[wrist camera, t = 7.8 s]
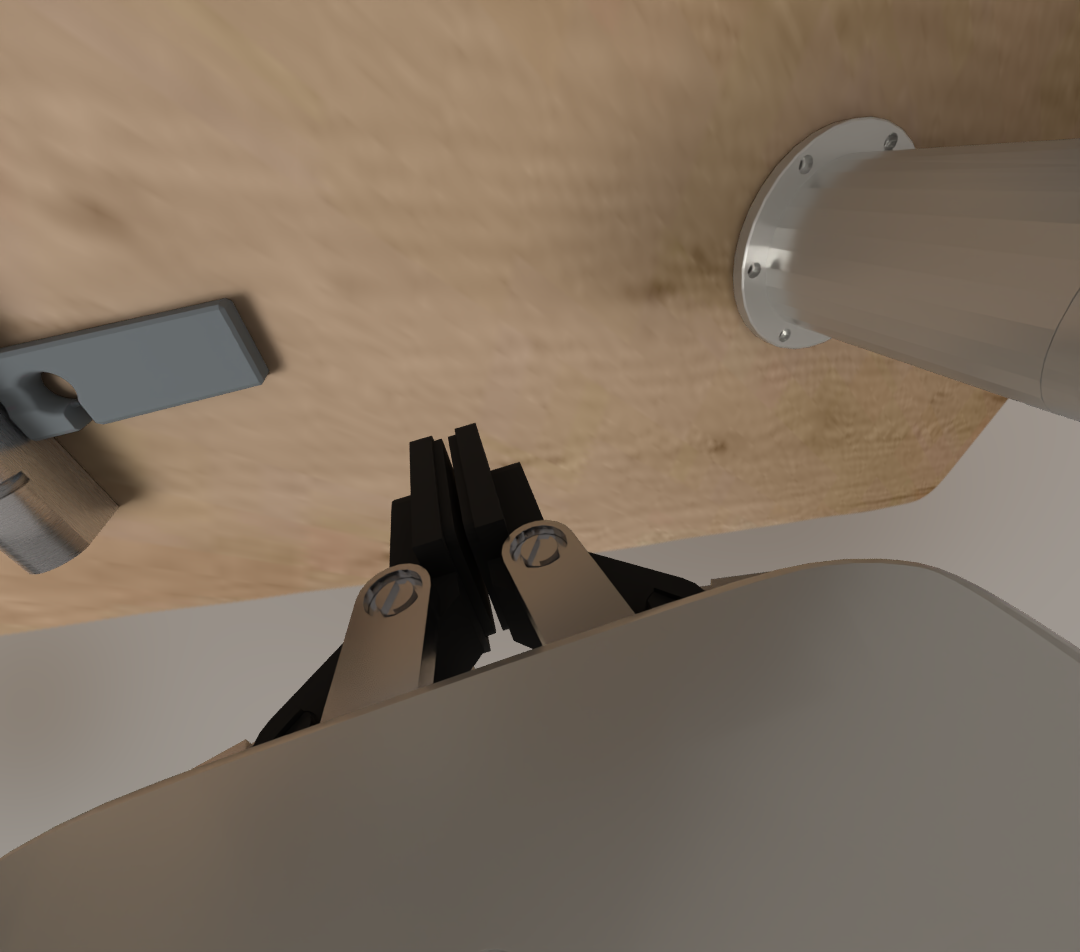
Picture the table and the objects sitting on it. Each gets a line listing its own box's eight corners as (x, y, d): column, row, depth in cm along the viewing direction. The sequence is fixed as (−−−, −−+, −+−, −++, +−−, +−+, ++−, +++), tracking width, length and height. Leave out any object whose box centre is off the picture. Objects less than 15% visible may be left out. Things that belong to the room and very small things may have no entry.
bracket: (273, 371, 24) (265, 385, 22) (54, 426, 23) (29, 445, 21) (232, 294, 22) (220, 302, 20) (-14, 349, 20) (-48, 363, 19)
